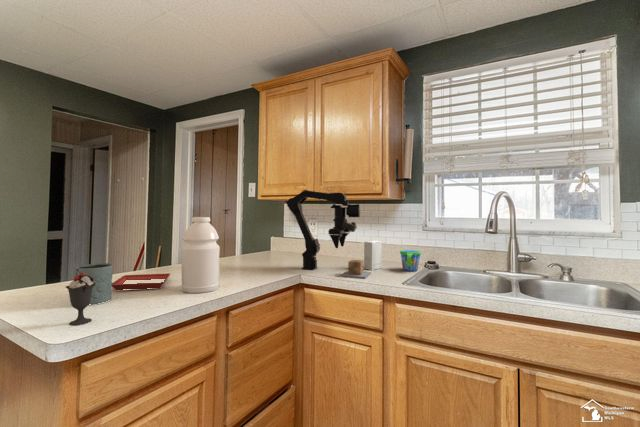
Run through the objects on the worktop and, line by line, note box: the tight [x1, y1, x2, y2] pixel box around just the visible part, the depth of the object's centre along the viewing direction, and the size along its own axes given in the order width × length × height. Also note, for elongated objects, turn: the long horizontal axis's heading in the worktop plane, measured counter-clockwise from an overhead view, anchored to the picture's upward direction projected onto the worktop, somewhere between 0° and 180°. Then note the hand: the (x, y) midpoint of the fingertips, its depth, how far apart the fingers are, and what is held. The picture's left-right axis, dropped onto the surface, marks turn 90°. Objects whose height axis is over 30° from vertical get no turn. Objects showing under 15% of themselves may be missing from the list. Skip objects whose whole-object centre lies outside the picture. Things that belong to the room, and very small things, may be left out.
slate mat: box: [339, 269, 372, 280], centre depth 150 cm, size 12×12×1 cm
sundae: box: [65, 268, 96, 326], centre depth 85 cm, size 7×7×15 cm
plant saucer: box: [111, 273, 171, 291], centre depth 126 cm, size 18×18×3 cm
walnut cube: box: [347, 259, 365, 275], centre depth 150 cm, size 6×6×6 cm
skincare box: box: [363, 240, 383, 271], centre depth 167 cm, size 8×6×15 cm
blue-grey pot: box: [75, 262, 114, 305], centre depth 104 cm, size 10×10×12 cm
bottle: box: [180, 216, 221, 294], centre depth 122 cm, size 14×14×28 cm
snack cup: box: [399, 249, 422, 272], centre depth 164 cm, size 16×10×10 cm
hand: (339, 247), depth 162 cm, fingers open, 9 cm apart
